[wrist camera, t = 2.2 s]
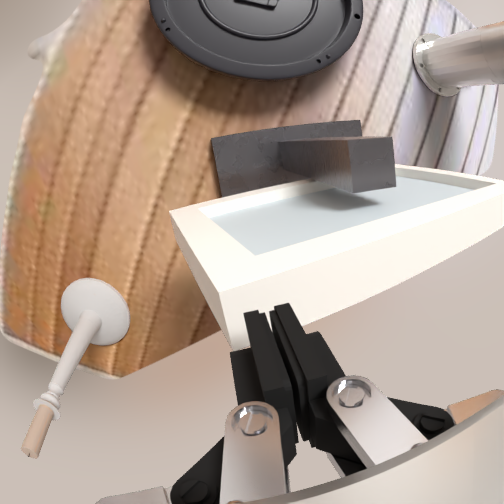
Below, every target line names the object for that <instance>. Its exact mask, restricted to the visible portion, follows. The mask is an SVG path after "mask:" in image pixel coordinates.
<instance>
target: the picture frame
mask: <svg viewBox="0 0 504 504" xmlns="http://www.w3.org/2000/svg"><path fill="white" fill-rule="evenodd" d="M395 174H396V187H392V188H385V189H379V190H372V191H366V192H360V193H354V194H353V193H351V192H348V191H345V190H342V189H339V188H337V187H334V186H331V185H328V184H325V183H322V182H319V181H317V180H314V179H311V178H310V179H305V180H300V181H295V182H290V183H286V184H281V185H276V186H271V187H267V188H262V189H258V190H253V191H249V192H244V193H240V194H236V195H231V196H227V197H223V198H219V199H215V200H210V201H206V202H202V203H198V204H194V205H190V206H187V207H183V208H179V209H175V210H171V211H169V213H170V217H171V222H172V226H173V230H174V234H175V238H176V241H177V243H178V245H179V247H180V249H181V251H182V253H183V255H184V257H185V259H186V261H187V263H188V265H189V268H190V270H191V272H192V274H193V276H194V278H195V280H196V282H197V284H198V286H199V288H200V289H201V291H202V293H203V295H204V297H205V299H206V301H207V303H208V305H209V307H210V309H211V311H212V313H213V315H214V317H215V318H216V320H217V322H218V324H219V326H220V328H221V330H222V332H223V333H224V335H225V337H226V339H227V341H228V342H229V344H230V346H231V348H232V350H233V351H237V350H240V349H243V348H245V347H248V346H250V342H249V338H248V333H247V329H246V324H245V319H244V314H243V313H245V312H249V311H254V310H258V311H259V313H263V312H265V314H266V317H267V320H268V322H269V325H270V328H271V330H272V327H271V321H270V315H269V311H272V310H274V306H276V305H281V304H285V303H290V305H291V307H292V309H293V311H294V313H295V315H296V316H297V318H298V320H299V322H300V324H301V326H304V325H307V324H309V323H312V322H314V321H317V320H319V319H321V318H324V317H326V316H329V315H331V314H333V313H336V312H338V311H340V310H343V309H345V308H347V307H350V306H352V305H354V304H356V303H359V302H361V301H363V300H365V299H367V298H369V297H372V296H374V295H376V294H378V293H380V292H383V291H385V290H387V289H389V288H391V287H393V286H395V285H397V284H399V283H401V282H403V281H405V280H407V279H409V278H411V277H414V276H416V275H418V274H419V273H421V272H423V271H425V270H427V269H429V268H431V267H433V266H435V265H437V264H439V263H441V262H442V261H444V260H446V259H448V258H450V257H452V256H454V255H456V254H457V253H459V252H461V251H463V250H465V249H466V248H468V247H470V246H472V245H473V244H475V243H477V242H478V241H480V240H482V239H484V238H485V237H487V236H489V235H490V234H492V233H494V232H495V231H497V230H499V229H500V228H502V227H504V181H502V180H497V179H493V178H487V177H481V176H476V175H471V174H465V173H459V172H452V171H446V170H439V169H431V168H424V167H416V166H407V165H398V164H395Z"/></svg>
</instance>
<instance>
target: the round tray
mask: <svg viewBox="0 0 504 504" xmlns="http://www.w3.org/2000/svg"><path fill="white" fill-rule="evenodd" d="M149 3H150V8H151V12H152V15H153V18H154V20H155V22H156V24H157V26H158V28H159V29H160V31H161V33H162V34H163V35H164V37H165V38H166V39H167V40H168V41H169V42H170V44H171V45H172V46H173V47H175V48H176V49H177V50H178V51H179V52H180V53H182V54H183V55H184V56H185V57H187V58H188V59H190V60H191V61H193V62H195V63H196V64H198V65H200V66H202V67H204V68H206V69H208V70H211V71H213V72H216V73H219V74H222V75H225V76H229V77H233V78H238V79H243V80H251V81H278V80H287V79H292V78H297V77H301V76H305V75H308V74H311V73H314V72H316V71H319V70H321V69H323V68H325V67H327V66H329V65H330V64H332V63H333V62H335V61H336V60H338V59H339V58H340V57H341V56H342V55H344V54H345V53H346V52H347V50H348V49H349V48H350V47H351V46H352V44H353V43H354V41H355V39H356V38H357V36H358V33H359V31H360V28H361V24H362V19H363V1H362V0H149Z"/></svg>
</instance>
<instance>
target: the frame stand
mask: <svg viewBox="0 0 504 504" xmlns="http://www.w3.org/2000/svg"><path fill="white" fill-rule="evenodd" d="M211 141H212V146H213V152H214V157H215V162H216V168H217V173H218V178H219V184H220V189H221V194H222V198H223V197H227V196H231V195H236V194H240V193H244V192H249V191H253V190H258V189H262V188H267V187H271V186H276V185H281V184H286V183H290V182H295V181H300V180H305V179H310V178H311V179H314V180H317V181H319V182H322V183H325V184H328V185H331V186H334V187H337V188H339V189H342V190H345V191H348V192H351V193H353V194H354V193H360V192H366V191H372V190H379V189H385V188H392V187H396V174H395V161H394V150H393V140H392V137H362V130H361V123H360V120H351V121H336V122H324V123H313V124H304V125H295V126H286V127H278V128H271V129H264V130H257V131H250V132H244V133H238V134H232V135H227V136H221V137H216V138H211Z"/></svg>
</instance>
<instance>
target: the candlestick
mask: <svg viewBox="0 0 504 504" xmlns="http://www.w3.org/2000/svg"><path fill="white" fill-rule="evenodd" d="M61 310H62V314H63V317H64V320H65V322H66V323H67V325H68V326H69V328H70V329H71V330H72V331H73V333H72V335H71V337H70V339H69V341H68V343H67V345H66V347H65V350H64V352H63V354H62V356H61V358H60V361H59V363H58V365H57V368H56V370H55V372H54V375H53V377H52V379H51V382H50V384H49V385H48V387H49V390H48V391H47V392H46V393H43V394H42V395H41V396H40V399H36V400H34V401H33V405H34V408H35V409H36V411H37V412H36V414H35V416H34V418H33V421H32V423H31V425H30V428H29V430H28V433H27V435H26V437H25V440H24V442H23V445H22V447H21V449H22V451H23V452H24V453H25V454H26V455H28V457H32V458H35V459H36V458H38V456H39V453H40V450H41V447H42V444H43V441H44V439H45V436H46V433H47V431H48V428H49V426H50V423H51V420H59V419H60V413H59V411H58V409H59V408H60V402H59V396H60V395H62V394H63V391H64V389H65V387H66V385H67V384H68V382H69V380H70V378H71V376H72V374H73V372H74V371H75V369H76V367H77V365H78V363H79V362H80V360H81V358H82V356H83V354H84V353H85V351H86V349H87V347H88V346H89V344H90V343H92V344H96V345H110V344H114V343H116V342H118V341H119V340H121V339H122V338H123V337H124V336H125V334H126V333H127V331H128V328H129V325H130V312H129V308H128V306H127V303H126V301H125V300H124V298H123V297H122V295H121V294H120V293H119V292H118V291H117V290H116V289H115V288H114V287H112V286H111V285H109V284H108V283H106V282H104V281H101V280H98V279H94V278H83V279H79V280H76V281H74V282H73V283H71V284H70V285H69V286H68V287H67V288H66V290H65V291H64V293H63V296H62V300H61Z"/></svg>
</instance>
